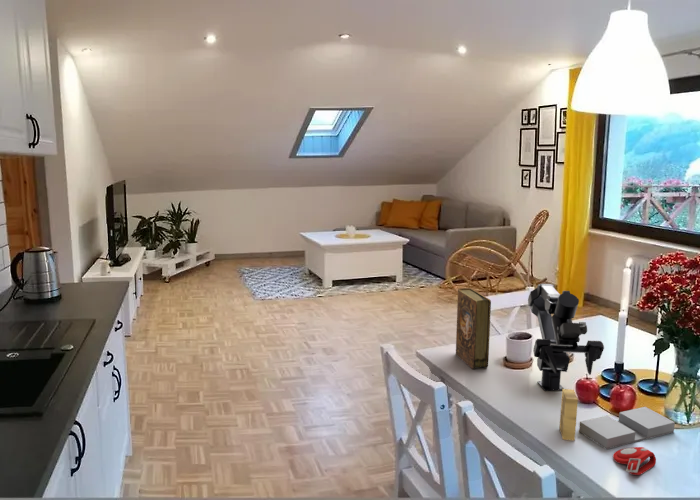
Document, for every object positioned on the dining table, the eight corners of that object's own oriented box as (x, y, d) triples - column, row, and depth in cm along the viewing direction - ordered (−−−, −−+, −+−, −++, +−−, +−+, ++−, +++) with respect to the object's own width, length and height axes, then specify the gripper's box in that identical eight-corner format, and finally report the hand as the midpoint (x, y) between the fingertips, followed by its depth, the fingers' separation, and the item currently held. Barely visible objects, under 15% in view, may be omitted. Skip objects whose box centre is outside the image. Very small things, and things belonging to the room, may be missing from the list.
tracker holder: (604, 449, 153) (640, 439, 153) (609, 466, 153) (645, 455, 153) (628, 465, 141) (667, 454, 141) (633, 483, 141) (672, 472, 141)
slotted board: (579, 431, 164) (579, 421, 163) (644, 416, 172) (645, 406, 172) (606, 449, 155) (607, 438, 154) (673, 432, 163) (674, 422, 162)
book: (454, 353, 221) (456, 288, 215) (467, 352, 222) (470, 287, 217) (473, 370, 205) (476, 301, 200) (488, 368, 206) (491, 300, 201)
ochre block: (559, 428, 165) (562, 388, 163) (570, 429, 165) (573, 389, 162) (562, 439, 159) (566, 398, 157) (574, 440, 159) (577, 399, 156)
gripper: (535, 311, 172) (543, 354, 161) (602, 313, 170) (615, 357, 159) (530, 334, 180) (537, 378, 168) (593, 337, 178) (605, 381, 166)
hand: (573, 373), depth 165 cm, fingers open, 9 cm apart
